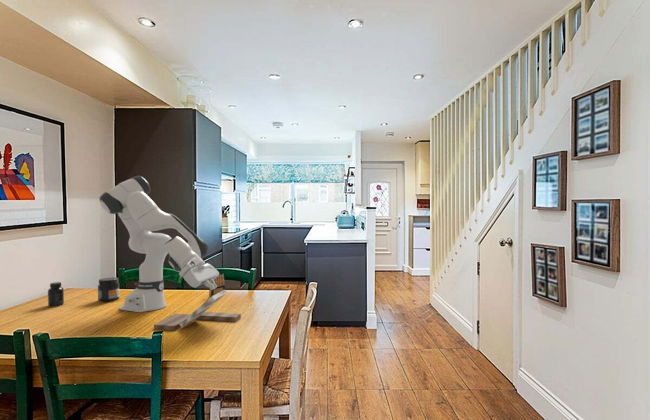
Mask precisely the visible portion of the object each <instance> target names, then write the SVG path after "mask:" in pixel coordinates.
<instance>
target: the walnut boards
mask: <svg viewBox="0 0 650 420" xmlns="http://www.w3.org/2000/svg"><path fill="white" fill-rule="evenodd" d="M191 314H192V313H191ZM191 314H187V313H174V314H172V315H169V316H168V317H166V318H164V319H163V320H160V321H158V322H156V323H155V324H153V330H158V331H159V330H160V331H177V330H178V329H180V328H182V327H181V326H180V325H179V324H180V323H181V322H183V321H184V320H185V319H186V318H187V317H188V316H190V315H191ZM241 317H242V316H241V313H236V312H235V313H233V312H216V311H205V312H204V313H203V314H202V315H200V316H199V317H198V318H197V319H196V320H198V321H199V320H201V321H218V322H219V321H220V322H237V321H239V320H240V319H242V318H241Z"/></svg>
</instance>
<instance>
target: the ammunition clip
mask: <svg viewBox="0 0 650 420" xmlns="http://www.w3.org/2000/svg"><path fill="white" fill-rule="evenodd" d="M214 282H215V284H216V285H217V287H216V288H215V289H213V290H211V289H210V288H208V289H209V292H208V293H209V294H208V296H209V298H211V297H212V296H213V295H215V294H217V293H219V292H221V291H223V290H225V291H226V285H225V276H224V273H222V274H220V273H219V276H218V277H217V278H216V279H214Z"/></svg>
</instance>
